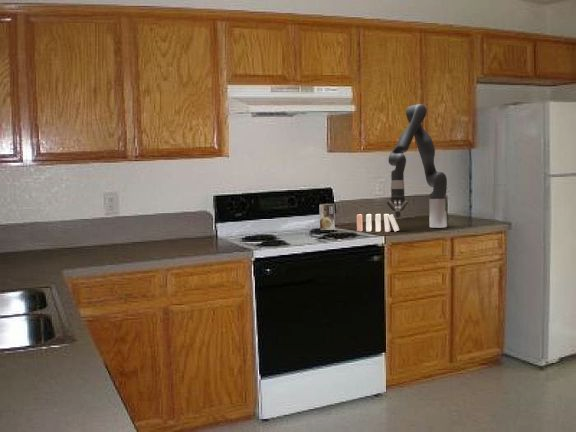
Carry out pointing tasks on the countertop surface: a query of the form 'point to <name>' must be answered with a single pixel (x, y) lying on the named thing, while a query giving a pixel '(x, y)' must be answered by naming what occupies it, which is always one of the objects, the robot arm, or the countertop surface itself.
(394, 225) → the domino
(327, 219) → the coffee box
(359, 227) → the domino
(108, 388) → the countertop surface
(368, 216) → the domino
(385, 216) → the domino
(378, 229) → the domino
